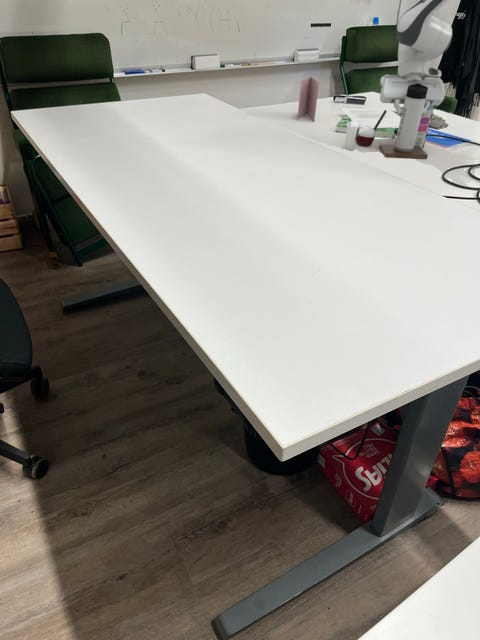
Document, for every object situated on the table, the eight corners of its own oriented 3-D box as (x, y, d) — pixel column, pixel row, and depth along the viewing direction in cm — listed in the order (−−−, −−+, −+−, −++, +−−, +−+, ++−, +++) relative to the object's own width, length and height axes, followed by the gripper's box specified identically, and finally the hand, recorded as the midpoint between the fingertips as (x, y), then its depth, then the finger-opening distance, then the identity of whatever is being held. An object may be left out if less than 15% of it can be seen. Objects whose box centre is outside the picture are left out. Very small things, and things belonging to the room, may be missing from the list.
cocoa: (350, 146, 169) (356, 110, 162) (353, 141, 174) (360, 106, 167) (377, 150, 167) (384, 114, 159) (380, 145, 171) (387, 109, 164)
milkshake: (338, 149, 165) (343, 119, 159) (348, 146, 168) (353, 116, 162) (349, 153, 163) (355, 122, 157) (358, 150, 166) (364, 119, 160)
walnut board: (417, 150, 168) (419, 145, 167) (426, 159, 160) (427, 154, 159) (378, 148, 168) (379, 144, 167) (385, 157, 160) (386, 153, 159)
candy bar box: (424, 149, 169) (437, 100, 159) (411, 150, 168) (423, 100, 158) (409, 139, 178) (421, 92, 168) (397, 140, 177) (408, 92, 167)
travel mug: (412, 147, 165) (428, 84, 153) (412, 153, 160) (429, 88, 148) (394, 145, 166) (408, 82, 154) (393, 151, 161) (408, 86, 149)
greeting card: (304, 115, 201) (308, 76, 192) (321, 118, 199) (326, 78, 190) (294, 122, 193) (298, 81, 184) (312, 125, 190) (317, 84, 181)
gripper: (383, 68, 155) (382, 107, 153) (446, 71, 155) (446, 110, 153) (377, 80, 161) (377, 118, 159) (438, 83, 161) (438, 121, 159)
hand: (411, 114), depth 156 cm, fingers closed on travel mug, 6 cm apart
